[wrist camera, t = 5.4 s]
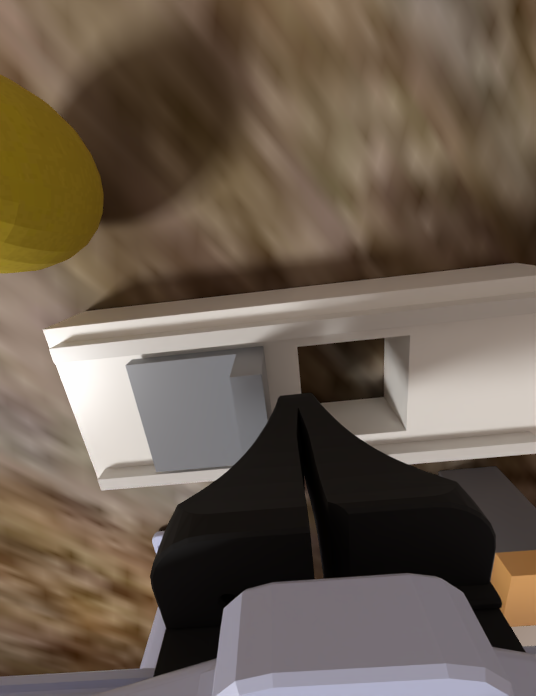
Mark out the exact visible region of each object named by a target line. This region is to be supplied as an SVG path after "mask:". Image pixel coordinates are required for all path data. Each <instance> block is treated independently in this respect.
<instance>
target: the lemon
mask: <svg viewBox="0 0 536 696" xmlns="http://www.w3.org/2000/svg"><path fill="white" fill-rule="evenodd" d="M103 199H104V194H103V188H102V183H101V177H100V174H99V172H98V169H97V167H96V164H95V162H94V160H93V157H92V155H91V153H90V152H89V150H88V149H87V147H86V146H85V144H84V143H83V141H82V140H81V138H80V137H79V135H78V134H77V133H76V131H75V130H74V129H73V128H72V127H71V126H70V125H69V124H68V123H67V122H66V121H65V120H64V119H63V118H62V117H61V116H60V115H59V114H58V113H57V112H56V111H55V110H54V109H53V108H52V107H51V106H49V105H48V104H47V103H46V102H44V101H43V100H42V99H40V98H39V97H37V96H35V95H34V94H32V93H31V92H29V91H27V90H26V89H24V88H23V87H21V86H20V85H18V84H16V83H15V82H13V81H11V80H10V79H8V78H6V77H4V76H2V75H0V273H15V272H25V271H36V270H40V269H44V268H47V267H50V266H52V265H55V264H57V263H60V262H63V261H65V260H67V259H69V258H71V257H72V256H74V255H75V254H76V253H77V252H79V251H80V250H81V249H82V248H84V247H85V246H86V245H87V244H88V243H89V241H90V240H91V238H92V237H93V235H94V234H95V232H96V231H97V229H98V226H99V223H100V220H101V217H102V214H103Z"/></svg>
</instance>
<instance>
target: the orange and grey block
mask: <svg viewBox="0 0 536 696" xmlns="http://www.w3.org/2000/svg"><path fill="white" fill-rule="evenodd" d="M438 476H441V477H444V478H447V479H450V480H453V481H456V482H458V483H459V485H460V486H461V487H462V488H463V489H464V490H465V491H466V492H467V494H468V495H469V496H470V497H471V498H472V499H473V500H474V502H475V503H476V504H477V505H478V507H479V508H480V509H481V511H482V512H483V513H484V515H485V516H486V517H487V519H488V520H489V521H490V523H491V525H492V527H493V529H494V532H495V534H496V550H495V556H494V561H493V567H492V572H491V578H490V582H491V583H492V585H493V586H494V588H495V590H496V591H497V593H498V594H499V596H500V598H501V601H502V607H501V608H500V610H501V612H502V613H503V615H504V617H505V618H506V620H507V622H508V623H509V625H510V627H514V626H531V625H536V508H535V507H534V506H533V505H532V504H531V503H530V501H529V500H528V499H527V498H526V497H525V496H524V495H523V494H522V493H521V492H520V491H519V490H518V489H517V488H516V487H515V486H514V485H513V484H512V482H511V481H510V480H509V479H508V478H507V477H506V476H505V475H504V474H503V473H502V472H501V471H500V470H499V469H498V468H497V467H496V466H493V467H480V468H468V469H456V470H444V471H439V475H438Z"/></svg>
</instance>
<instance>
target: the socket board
mask: <svg viewBox="0 0 536 696" xmlns="http://www.w3.org/2000/svg"><path fill="white" fill-rule="evenodd" d="M43 332H44V334H45V337H46V340H47V342H48V345H49V348H50V349H49V351H50V353H51V356H52V359H53V361H54V364H56V367H57V369H58V372H59V375H60V377H61V380H62V383H63V386H64V388H65V391H66V394H67V396H68V399H69V402H70V404H71V407H72V410H73V412H74V415H75V418H76V421H77V423H78V426H79V429H80V431H81V434H82V437H83V439H84V442H85V445H86V448H87V450H88V453H89V456H90V458H91V461H92V464H93V466H94V469H95V472H96V475H97V477H98V482H99V485H100V488H101V490H112V489H124V488H136V487H147V486H159V485H171V484H183V483H195V482H206V481H216V480H217V479H218V478H219V477H221V476H222V475H223V474H224V473H226V472H227V471H228V470H229V469H230V468H231V467H232V466H222V467H210V468H199V469H187V470H176V471H164V472H156V470H155V466H154V463H153V459H152V456H151V452H150V449H149V445H148V442H147V438H146V435H145V432H144V428H143V425H142V421H141V418H140V414H139V411H138V407H137V404H136V401H135V397H134V394H133V390H132V387H131V383H130V380H129V376H128V373H127V369H126V366H125V365H126V364H127V363H129V362H130V361H131V360H132V359H141V358H150V357H160V356H170V355H179V354H189V353H198V352H208V351H218V350H227V349H237V348H246V347H256V346H263V347H264V355H265V363H266V371H267V379H268V386H269V394H270V402H271V410H272V412H273V410H274V408H275V406H276V403H277V399H278V398H279V397H280V396H282V395H293V394H301V384H300V373H299V361H298V350H297V347H300V346H310V345H320V344H329V343H339V342H349V341H359V340H368V339H378V338H384V397H379V398H369V399H358V400H348V401H337V402H327V403H321V405H322V406H323V407H324V408H325V409H326V410H327V411H328V412H329V413H330V414H331V415H332V416H333V417H334V418H335V419H336V420H337V421H338V422H339V423H340V424H341V425H343V426H344V427H345V428H346V429H347V430H349V431H350V432H351V433H352V434H354V435H355V436H357V437H358V438H360V439H361V440H363V441H364V442H366V443H367V444H369V445H370V446H372V447H374V448H375V449H377V450H379V451H381V452H383V453H385V454H387V455H388V456H390V457H392V458H395V459H397V460H399V461H401V462H403V463H406V464H419V463H431V462H442V461H454V460H466V459H478V458H490V457H501V456H513V455H525V454H536V266H535V265H528V264H521V263H510V264H502V265H493V266H484V267H475V268H466V269H457V270H448V271H439V272H430V273H421V274H412V275H403V276H395V277H386V278H377V279H368V280H359V281H350V282H341V283H332V284H323V285H314V286H305V287H296V288H288V289H279V290H270V291H261V292H252V293H243V294H234V295H225V296H216V297H207V298H198V299H190V300H181V301H172V302H163V303H154V304H145V305H136V306H127V307H118V308H109V309H100V310H91V311H84V312H82V313H79V314H77V315H75V316H73V317H70V318H68V319H66V320H64V321H61V322H59V323H57V324H55V325H52V326H50V327H48V328H45V329H43Z"/></svg>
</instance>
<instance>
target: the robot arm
mask: <svg viewBox="0 0 536 696" xmlns="http://www.w3.org/2000/svg"><path fill="white" fill-rule="evenodd" d="M304 476H305V480H306V484H307V488H308V493H309V497H310V501H311V505H312V509H313V513H314V518H315V523H316V528H317V533H318V540H319V548H320V555H321V562H322V569H323V576H324V579H314V569H313V558H312V548H311V537H310V527H309V519H308V512H307V504H306V498H305V487H304ZM152 543H153V546H154V549H155V552H156V557H155V560H154V563H153V566H152V570H151V575H150V578H151V585H152V589H153V592H154V595H155V598H156V601H157V604H158V609H157V612H156V616H155V619H154V622H153V626H152V629H151V632H150V636H149V639H148V642H147V646H146V649H145V653H144V656H143V659H142V663H141V666H140V669H123V670H106V671H88V672H71V673H53V674H36V675H18V676H1V677H0V696H536V646H525V647H522V645H521V643H520V642H519V640H518V638H517V637H516V635H515V633H514V632H513V630H512V628H511V627H510V625H509V623H508V622H507V620H506V618H505V617H504V615H503V613H502V612H501V610H500V608H501V607H502V601H501V598H500V596H499V594H498V593H497V591H496V590H495V588H494V586H493V585H492V583H491V582H490V578H491V572H492V567H493V561H494V556H495V550H496V534H495V532H494V529H493V527H492V525H491V523H490V521H489V520H488V519H487V517H486V516H485V515H484V513H483V512H482V511H481V509H480V508H479V507H478V505H477V504H476V503H475V502H474V500H473V499H472V498H471V497H470V496H469V495H468V494H467V492H466V491H465V490H464V489H463V488H462V487H461V486H460V485H459V483H458V482H456V481H453V480H450V479H447V478H444V477H441V476H438V475H435V474H432V473H429V472H426V471H423V470H420V469H418V468H415V467H413V466H410V465H408V464H406V463H403V462H401V461H399V460H397V459H395V458H392V457H390V456H388V455H387V454H385V453H383V452H381V451H379V450H377V449H375V448H374V447H372V446H370V445H369V444H367V443H366V442H364V441H363V440H361V439H360V438H358V437H357V436H355V435H354V434H352V433H351V432H350V431H349V430H347V429H346V428H345V427H344V426H343V425H341V424H340V423H339V422H338V421H337V420H336V419H335V418H334V417H333V416H332V415H331V414H330V413H329V412H328V411H327V410H326V409H325V408H324V407H323V406H322V405H321V403H320V402H319V401H318V400H317V399H316V397H315V396H314V395H313V394H312V393H303V394H293V395H282V396H280V397H279V398H278V399H277V403H276V406H275V408H274V410H273V412H272V414H271V416H270V418H269V420H268V422H267V424H266V425H265V427H264V429H263V430H262V432H261V433H260V435H259V436H258V438H257V439H256V440H255V442H254V443H253V444H252V446H251V447H250V448H249V449H248V451H247V452H246V453H245V454H244V455H243V456H242V457H241V458H240V459H239V460H238V461H237V462H236V463H235V464H234V465H233V466H232V467H231V468H230V469H229V470H228V471H227V472H226V473H224V474H223V475H222V476H221V477H219V478H218V479H217V480H216V481H214V482H213V483H211V484H210V485H209V486H207V487H206V488H204V489H203V490H201V491H200V492H198V493H197V494H195V495H193V496H192V497H190V498H189V499H187V500H185V501H184V502H182V503H180V504H178V505H177V507H176V509H175V511H174V513H173V516H172V518H171V519H170V521H169V523H168V525H167V528H166V530H165V531H159V532H156V533H155V534H154V536H153V539H152Z"/></svg>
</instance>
